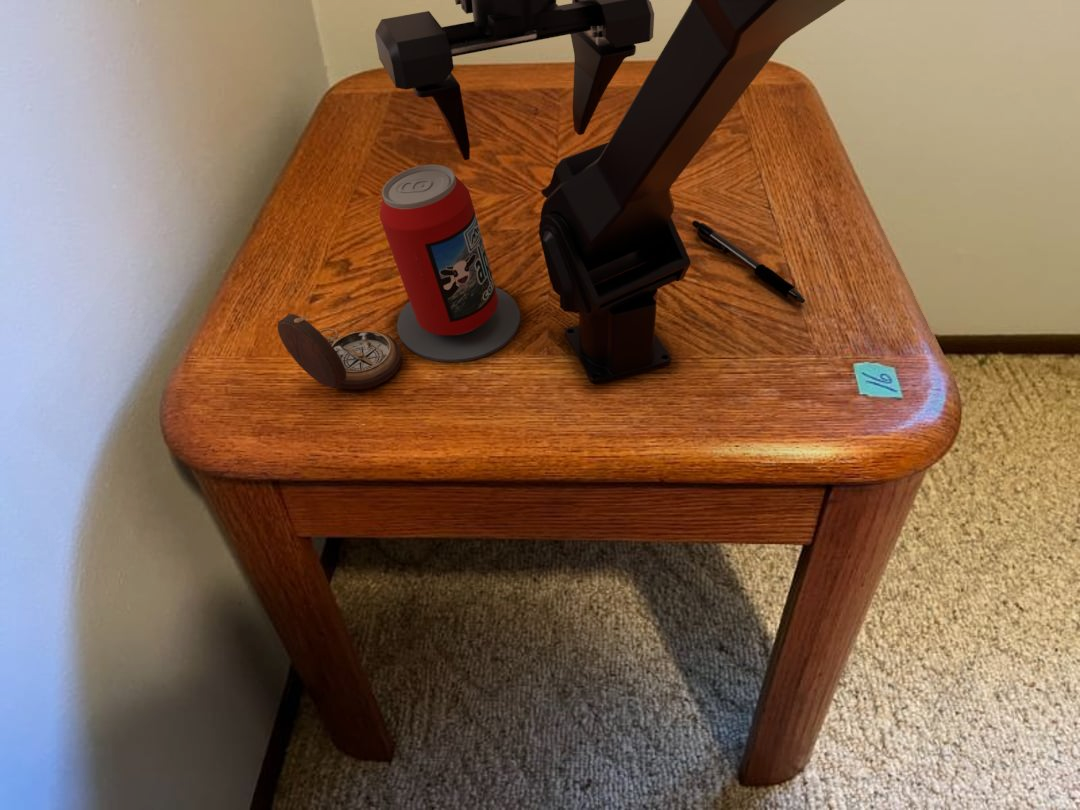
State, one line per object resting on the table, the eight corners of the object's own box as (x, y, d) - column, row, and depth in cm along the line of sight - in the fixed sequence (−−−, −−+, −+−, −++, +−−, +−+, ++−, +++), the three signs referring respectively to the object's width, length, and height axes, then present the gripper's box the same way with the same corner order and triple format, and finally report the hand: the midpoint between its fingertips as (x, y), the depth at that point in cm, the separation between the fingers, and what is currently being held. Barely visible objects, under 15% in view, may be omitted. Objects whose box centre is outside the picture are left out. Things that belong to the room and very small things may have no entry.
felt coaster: (536, 343, 67) (536, 340, 67) (412, 375, 65) (411, 372, 65) (500, 273, 74) (499, 271, 73) (386, 300, 72) (385, 297, 71)
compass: (419, 358, 66) (405, 282, 61) (342, 416, 62) (320, 340, 57) (351, 320, 70) (332, 245, 65) (274, 372, 66) (247, 297, 61)
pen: (683, 231, 77) (684, 220, 76) (698, 225, 77) (699, 214, 77) (791, 312, 68) (794, 300, 67) (807, 304, 69) (810, 293, 68)
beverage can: (489, 342, 65) (450, 206, 57) (408, 344, 67) (358, 212, 59) (508, 289, 70) (474, 156, 62) (432, 291, 72) (389, 162, 64)
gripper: (594, -131, 62) (594, 80, 73) (339, -93, 57) (380, 124, 68) (663, -92, 54) (651, 137, 65) (375, -46, 50) (414, 191, 61)
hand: (523, 144), depth 65 cm, fingers open, 9 cm apart
